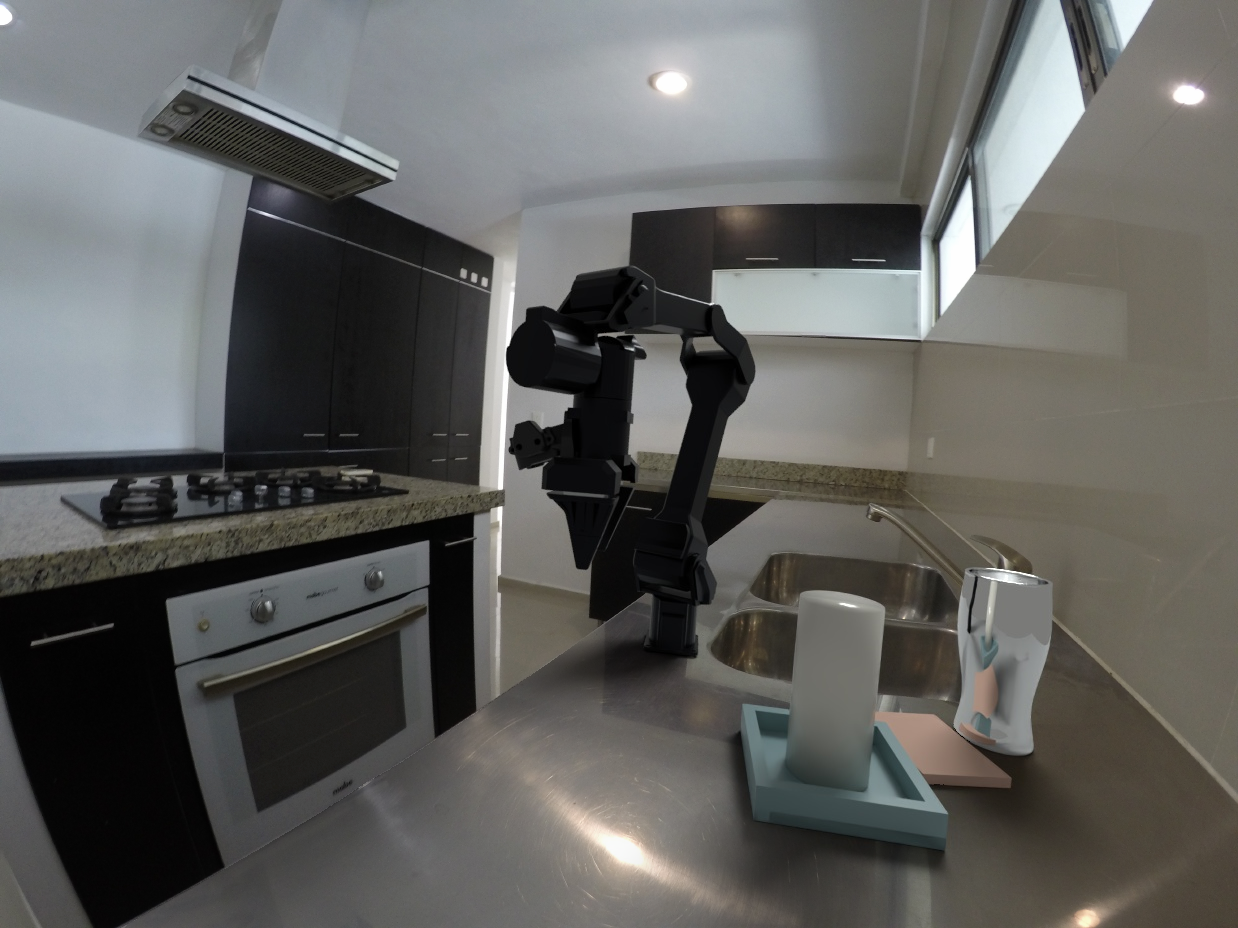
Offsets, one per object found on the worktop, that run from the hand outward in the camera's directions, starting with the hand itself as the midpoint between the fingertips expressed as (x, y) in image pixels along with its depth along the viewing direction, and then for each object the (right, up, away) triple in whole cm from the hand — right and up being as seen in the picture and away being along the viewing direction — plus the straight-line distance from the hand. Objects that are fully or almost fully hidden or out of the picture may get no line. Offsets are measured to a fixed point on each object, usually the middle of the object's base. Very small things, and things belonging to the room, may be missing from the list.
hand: (591, 559), depth 55 cm
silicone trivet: (+29, -15, -7) cm, 34 cm away
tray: (+18, -15, -12) cm, 27 cm away
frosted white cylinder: (+18, -14, -12) cm, 26 cm away
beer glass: (+37, -16, -4) cm, 40 cm away
